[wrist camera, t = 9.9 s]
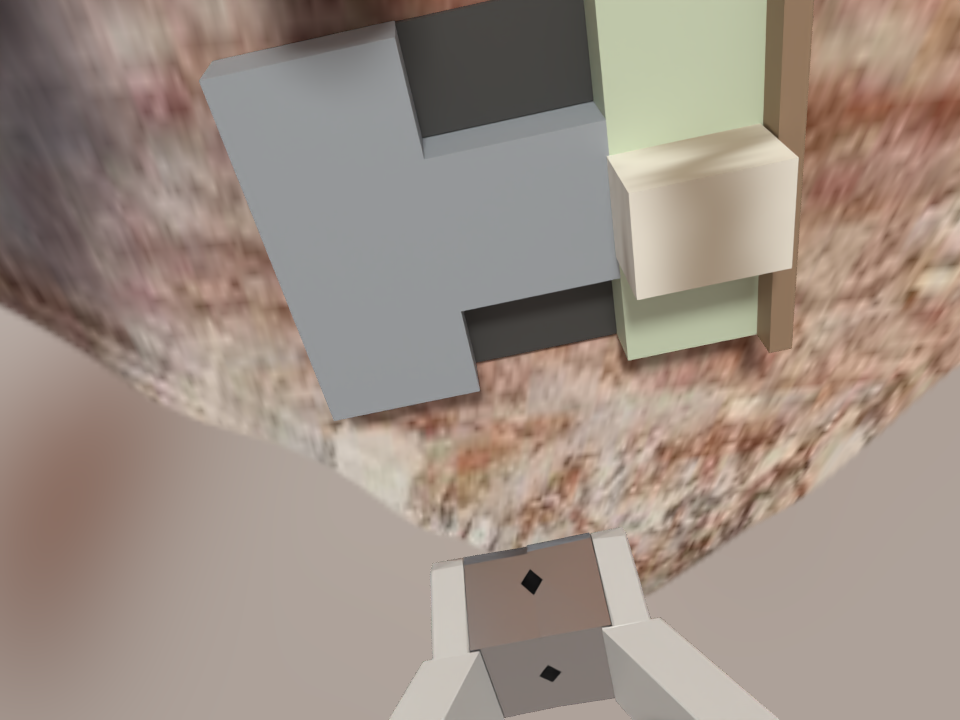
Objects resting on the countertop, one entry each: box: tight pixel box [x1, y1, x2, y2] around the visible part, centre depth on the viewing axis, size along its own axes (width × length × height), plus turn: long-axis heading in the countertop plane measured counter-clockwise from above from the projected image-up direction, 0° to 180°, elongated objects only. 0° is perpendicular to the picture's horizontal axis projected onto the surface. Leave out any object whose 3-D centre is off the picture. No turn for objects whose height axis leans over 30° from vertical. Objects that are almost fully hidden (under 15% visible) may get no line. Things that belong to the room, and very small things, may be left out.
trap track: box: [199, 0, 814, 421], centre depth 32 cm, size 21×16×4 cm
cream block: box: [607, 123, 799, 300], centre depth 30 cm, size 6×4×4 cm
